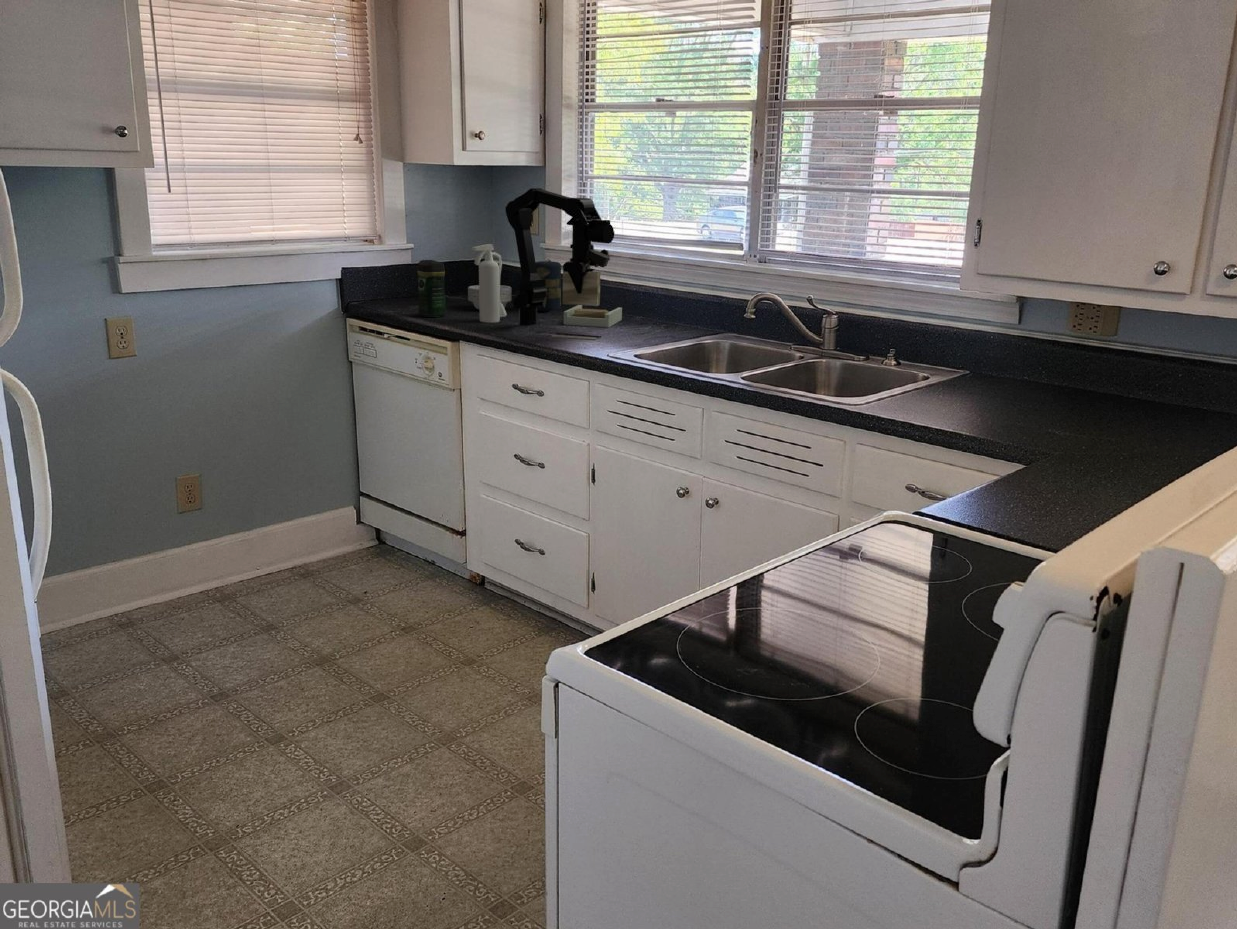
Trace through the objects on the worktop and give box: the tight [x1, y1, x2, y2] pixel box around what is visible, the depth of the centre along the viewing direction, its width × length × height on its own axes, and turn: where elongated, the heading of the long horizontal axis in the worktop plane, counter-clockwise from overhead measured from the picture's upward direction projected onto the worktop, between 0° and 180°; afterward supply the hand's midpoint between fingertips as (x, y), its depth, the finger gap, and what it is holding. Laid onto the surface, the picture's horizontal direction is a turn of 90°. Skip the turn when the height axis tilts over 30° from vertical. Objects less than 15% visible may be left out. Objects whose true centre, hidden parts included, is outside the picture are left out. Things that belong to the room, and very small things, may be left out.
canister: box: [535, 258, 562, 312], centre depth 370 cm, size 10×10×18 cm
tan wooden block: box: [562, 270, 601, 307], centre depth 324 cm, size 3×11×10 cm, turn 75°
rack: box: [563, 305, 623, 328], centre depth 345 cm, size 16×15×5 cm
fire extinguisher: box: [471, 243, 507, 324], centre depth 345 cm, size 7×12×25 cm, turn 130°
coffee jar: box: [416, 259, 447, 318], centre depth 353 cm, size 10×8×19 cm
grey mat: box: [551, 332, 603, 341], centre depth 328 cm, size 14×14×1 cm
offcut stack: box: [572, 308, 608, 319], centre depth 341 cm, size 4×11×4 cm, turn 75°
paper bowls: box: [467, 284, 512, 311], centre depth 373 cm, size 15×15×8 cm
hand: (580, 292), depth 324 cm, fingers closed on tan wooden block, 3 cm apart
